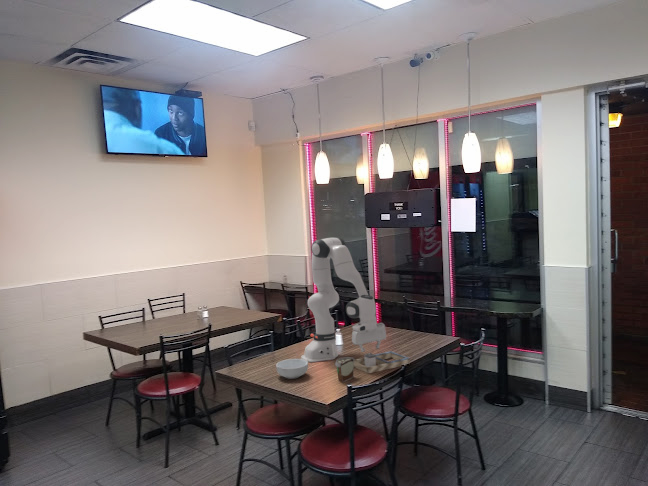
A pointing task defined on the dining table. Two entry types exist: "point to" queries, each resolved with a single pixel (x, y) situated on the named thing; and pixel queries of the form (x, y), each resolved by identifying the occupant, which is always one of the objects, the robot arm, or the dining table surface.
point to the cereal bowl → (292, 368)
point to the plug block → (370, 359)
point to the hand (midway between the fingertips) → (370, 350)
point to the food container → (345, 368)
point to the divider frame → (382, 362)
